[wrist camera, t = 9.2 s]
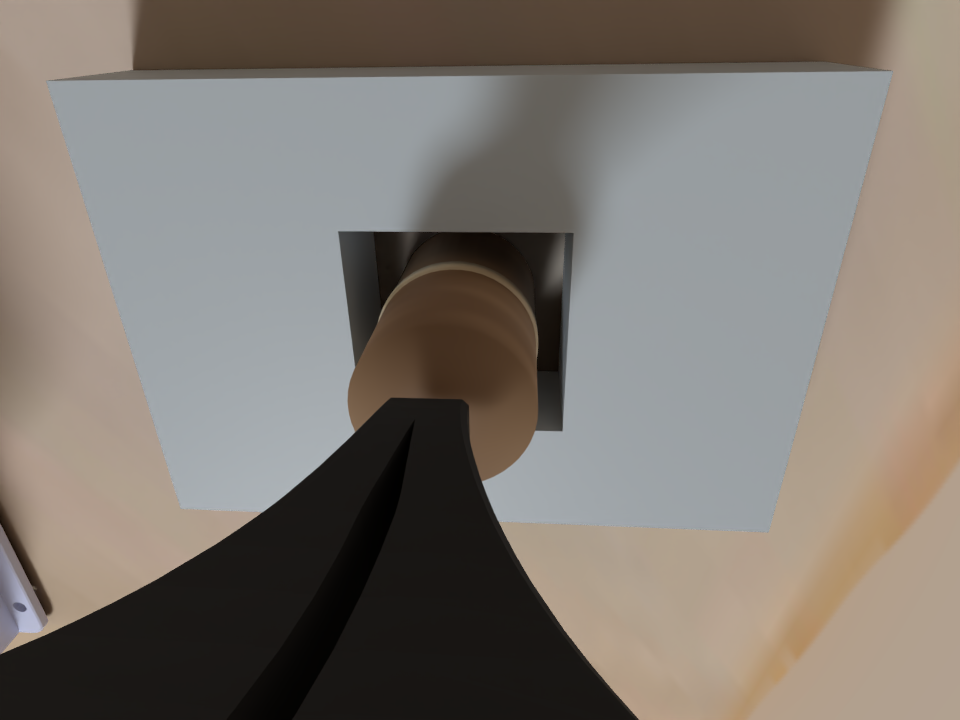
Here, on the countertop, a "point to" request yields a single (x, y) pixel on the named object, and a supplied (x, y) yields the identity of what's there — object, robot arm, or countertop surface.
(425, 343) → the walnut peg
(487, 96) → the grey board
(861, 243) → the countertop surface
